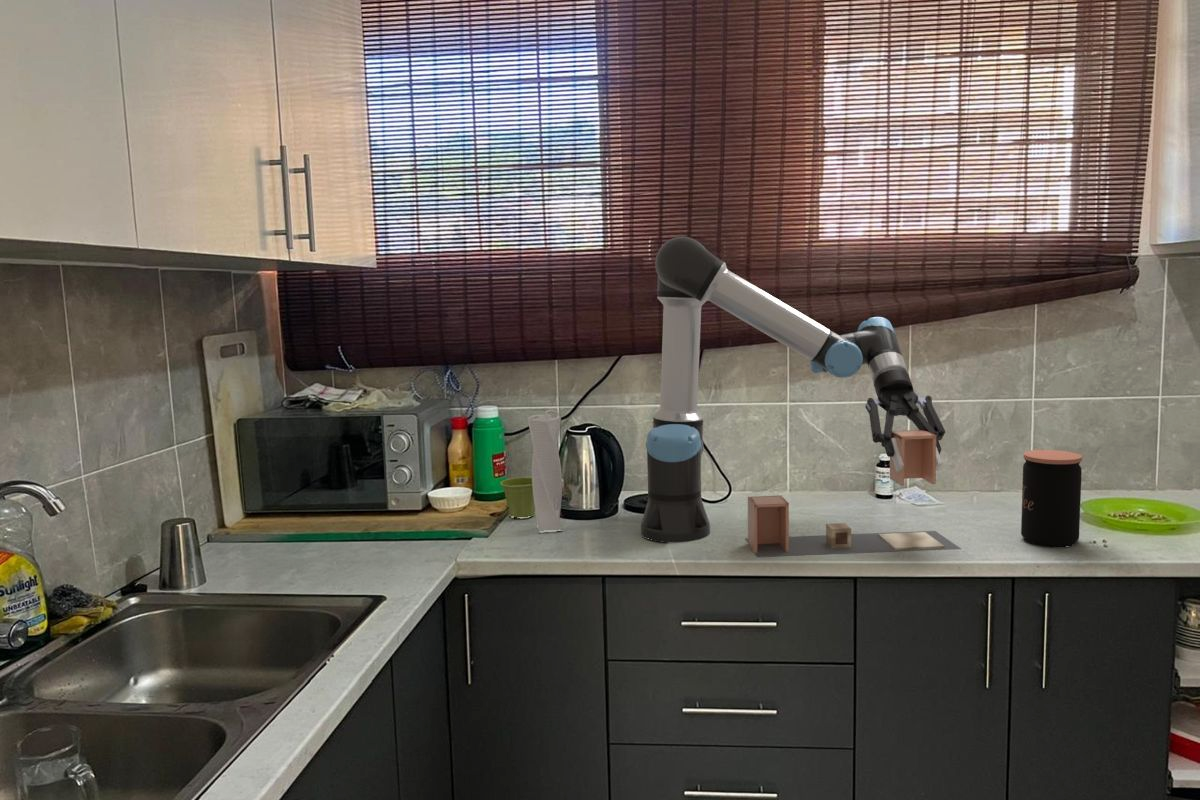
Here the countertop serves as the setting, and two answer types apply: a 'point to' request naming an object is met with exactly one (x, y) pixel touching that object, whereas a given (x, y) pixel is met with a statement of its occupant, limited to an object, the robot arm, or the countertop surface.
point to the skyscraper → (546, 470)
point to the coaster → (910, 541)
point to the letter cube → (838, 535)
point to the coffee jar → (1051, 498)
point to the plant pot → (519, 496)
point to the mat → (858, 545)
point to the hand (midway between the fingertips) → (919, 467)
